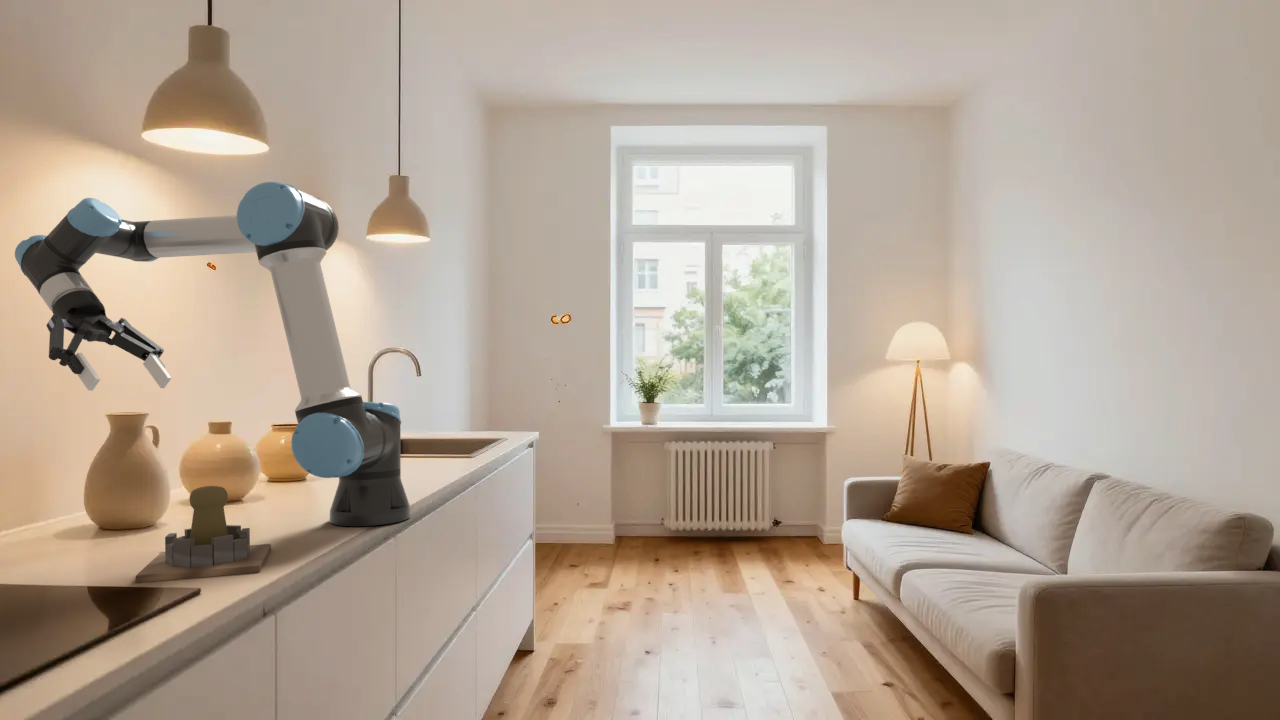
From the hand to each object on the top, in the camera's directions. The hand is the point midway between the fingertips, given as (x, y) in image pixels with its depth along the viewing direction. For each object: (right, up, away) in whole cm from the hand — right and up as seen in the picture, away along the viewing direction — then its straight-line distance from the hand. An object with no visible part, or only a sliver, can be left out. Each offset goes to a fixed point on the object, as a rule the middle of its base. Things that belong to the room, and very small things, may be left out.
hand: (132, 384), depth 146 cm
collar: (+24, -27, -20) cm, 42 cm away
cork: (+24, -26, -20) cm, 41 cm away
